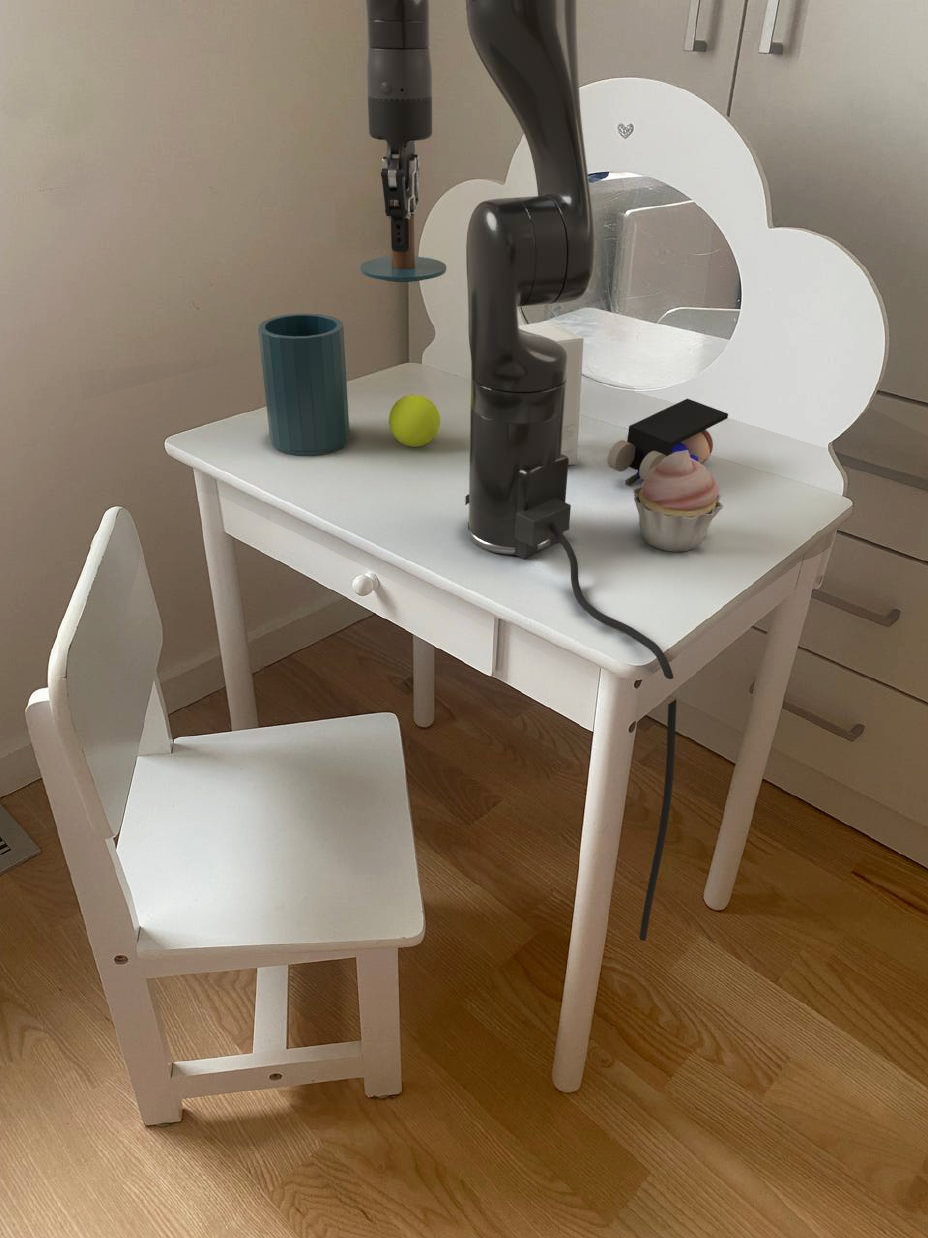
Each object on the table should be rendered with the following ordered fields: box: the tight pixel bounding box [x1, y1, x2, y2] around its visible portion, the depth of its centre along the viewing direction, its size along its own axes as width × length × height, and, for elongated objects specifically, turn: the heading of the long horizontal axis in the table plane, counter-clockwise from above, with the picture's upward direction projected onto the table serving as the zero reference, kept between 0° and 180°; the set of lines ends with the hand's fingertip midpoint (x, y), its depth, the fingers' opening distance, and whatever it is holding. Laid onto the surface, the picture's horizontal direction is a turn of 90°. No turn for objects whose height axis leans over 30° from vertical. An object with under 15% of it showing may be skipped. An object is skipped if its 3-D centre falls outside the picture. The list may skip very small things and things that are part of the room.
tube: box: [257, 313, 351, 457], centre depth 118 cm, size 10×10×15 cm
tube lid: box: [359, 214, 447, 283], centre depth 121 cm, size 11×11×7 cm
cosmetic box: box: [518, 320, 585, 466], centre depth 115 cm, size 8×7×16 cm
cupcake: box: [632, 450, 725, 553], centre depth 99 cm, size 9×9×10 cm
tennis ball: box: [388, 394, 441, 448], centre depth 120 cm, size 6×6×6 cm
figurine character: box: [607, 398, 729, 486], centre depth 113 cm, size 7×8×15 cm
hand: (403, 246), depth 121 cm, fingers closed on tube lid, 3 cm apart
